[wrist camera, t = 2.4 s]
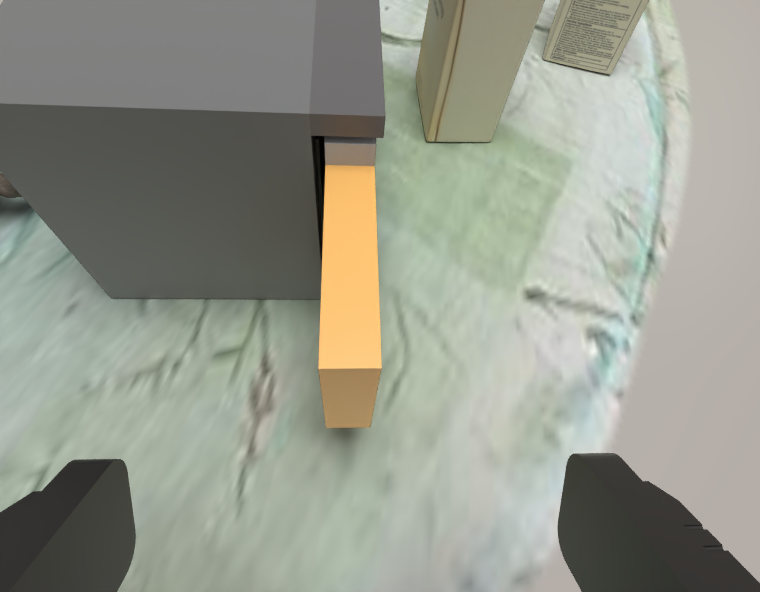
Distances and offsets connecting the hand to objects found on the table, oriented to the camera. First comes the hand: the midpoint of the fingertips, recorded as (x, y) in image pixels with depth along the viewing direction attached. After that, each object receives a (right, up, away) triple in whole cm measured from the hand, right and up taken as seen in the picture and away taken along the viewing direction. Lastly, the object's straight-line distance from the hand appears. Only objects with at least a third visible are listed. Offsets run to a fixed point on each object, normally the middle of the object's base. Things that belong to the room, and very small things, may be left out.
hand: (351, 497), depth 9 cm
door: (-1, +5, +14) cm, 15 cm away
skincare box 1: (+5, +15, +22) cm, 28 cm away
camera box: (-6, +10, +18) cm, 22 cm away
